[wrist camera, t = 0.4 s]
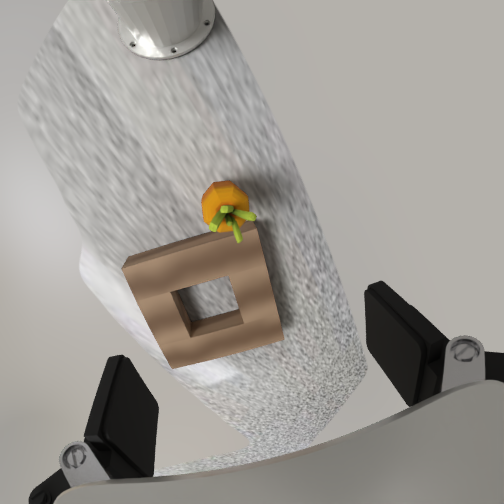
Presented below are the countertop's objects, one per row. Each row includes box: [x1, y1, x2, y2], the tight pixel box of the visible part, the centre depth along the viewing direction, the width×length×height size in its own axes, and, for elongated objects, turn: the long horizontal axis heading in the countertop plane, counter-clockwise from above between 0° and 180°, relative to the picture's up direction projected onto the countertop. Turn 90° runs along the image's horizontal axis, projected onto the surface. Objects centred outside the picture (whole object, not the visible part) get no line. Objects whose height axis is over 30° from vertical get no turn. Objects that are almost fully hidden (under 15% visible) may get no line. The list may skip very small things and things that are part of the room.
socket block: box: [122, 221, 284, 369], centre depth 42 cm, size 18×18×4 cm
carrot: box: [201, 181, 257, 243], centre depth 32 cm, size 5×5×15 cm
